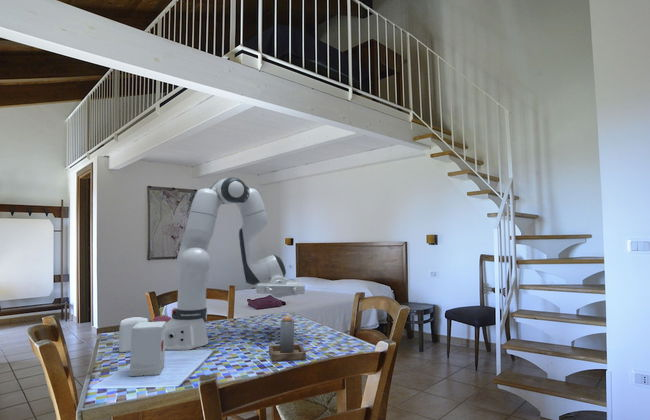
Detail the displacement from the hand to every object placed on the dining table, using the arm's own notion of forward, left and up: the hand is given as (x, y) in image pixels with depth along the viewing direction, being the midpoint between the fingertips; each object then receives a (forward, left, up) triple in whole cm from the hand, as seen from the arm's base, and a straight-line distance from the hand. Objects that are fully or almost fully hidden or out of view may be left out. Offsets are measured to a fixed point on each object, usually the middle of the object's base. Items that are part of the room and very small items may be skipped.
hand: (282, 290), depth 162 cm
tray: (0, -14, -22) cm, 26 cm away
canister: (0, -14, -21) cm, 25 cm away
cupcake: (-51, +35, -22) cm, 66 cm away
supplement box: (-46, -22, -22) cm, 55 cm away
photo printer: (-56, +4, -22) cm, 60 cm away
